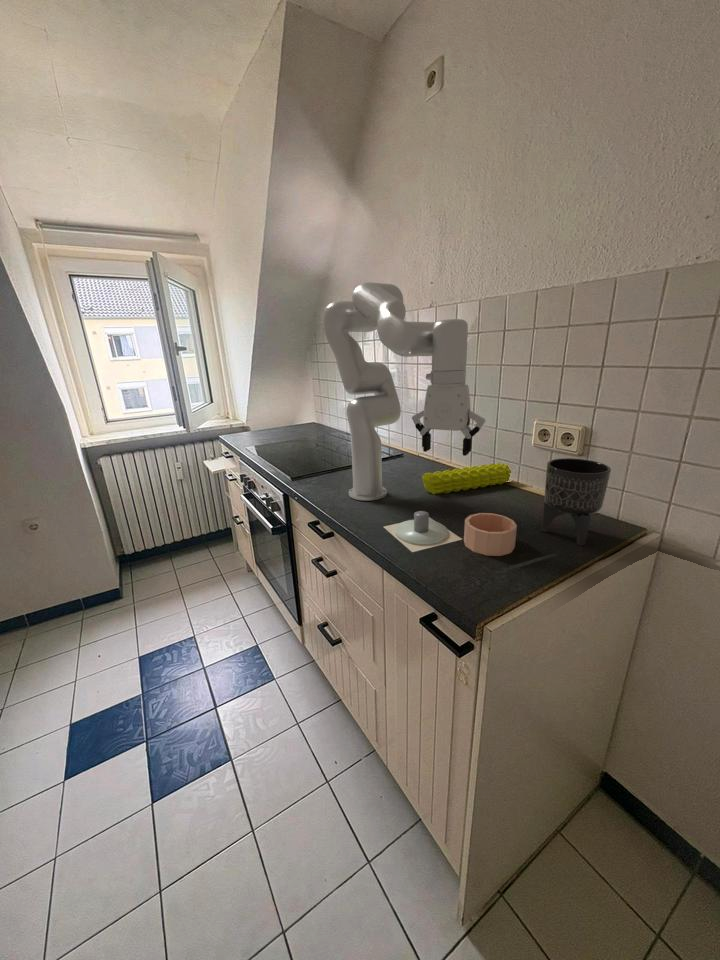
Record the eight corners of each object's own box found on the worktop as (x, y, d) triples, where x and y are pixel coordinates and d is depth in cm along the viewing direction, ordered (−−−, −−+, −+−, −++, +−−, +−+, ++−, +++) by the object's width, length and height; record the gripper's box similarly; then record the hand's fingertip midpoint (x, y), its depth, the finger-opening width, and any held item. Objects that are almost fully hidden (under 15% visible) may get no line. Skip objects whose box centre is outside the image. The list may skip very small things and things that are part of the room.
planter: (611, 545, 87) (625, 472, 81) (557, 549, 86) (568, 475, 80) (576, 521, 99) (586, 456, 93) (528, 525, 98) (536, 459, 93)
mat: (383, 528, 99) (383, 526, 99) (428, 518, 104) (428, 516, 104) (412, 554, 86) (412, 552, 86) (462, 541, 91) (462, 539, 91)
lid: (386, 527, 98) (386, 509, 97) (428, 518, 103) (429, 500, 101) (411, 549, 87) (412, 529, 85) (458, 538, 91) (459, 518, 90)
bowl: (454, 541, 91) (455, 518, 89) (490, 531, 95) (492, 510, 93) (485, 562, 82) (487, 537, 80) (524, 551, 86) (527, 527, 84)
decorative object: (419, 491, 125) (420, 471, 123) (502, 478, 135) (504, 459, 133) (430, 498, 119) (431, 477, 117) (516, 484, 129) (518, 464, 127)
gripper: (406, 380, 86) (406, 452, 92) (483, 379, 78) (478, 459, 83) (419, 378, 92) (418, 446, 98) (491, 377, 84) (486, 452, 89)
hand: (445, 452), depth 90 cm, fingers open, 9 cm apart
